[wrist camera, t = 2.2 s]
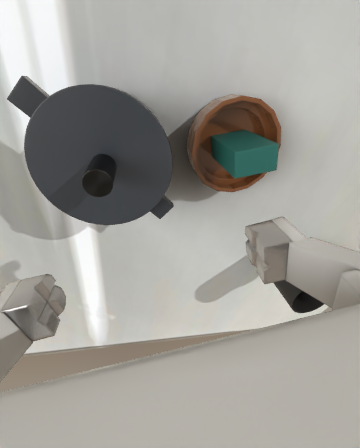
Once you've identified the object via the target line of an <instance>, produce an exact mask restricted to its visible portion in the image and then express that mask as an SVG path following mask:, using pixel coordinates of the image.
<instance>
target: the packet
mask: <svg viewBox="0 0 360 448" xmlns="http://www.w3.org/2000/svg"><path fill="white" fill-rule="evenodd" d="M278 147H279V144H278V143H276V142H273V141H271V140H268V139H266V138H264V137H261V136H259V135H257V134H254V133H252V132H250V131H247V130H245V129H243V130H238V131H233V132H228V133H223V134H217V135H212V136H211V151H212V157H213V158H214V159H215V160H216V161H217V162H218V163H219V164H220V165H221V166H222V167H223V168H224V169H225V170H226V171H227V172H228V173H229V174H230V175H231V176H233V177H234V178H235V179H236V178H241V177H245V176H250V175H255V174H260V173H265V172H270V171H274V170H276V167H277V157H278Z"/></svg>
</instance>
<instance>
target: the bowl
mask: <svg viewBox="0 0 360 448" xmlns="http://www.w3.org/2000/svg"><path fill="white" fill-rule="evenodd" d="M243 129H245V130H247V131H250V132H252V133H254V134H257V135H259V136H261V137H264V138H266V139H268V140H271V141H273V142H276V143H278V144H279V147H278V151H279V148H280V139H281V127H280V124H279V122H278V119H277V117H276V114H275V112H274V110H273V109H272V108H270V107H269V106H268V105H267V104H266V103H265V102H263V101H262V100H261V99H257V98H252V97H247V96H242V95H233V94H232V95H228V96H224V97H221V98H217V99H214V100H213V101H212V102H210V103H209V104H208V105H207V106H205V107H204V108H203V109H202V110H201V111H199V113H198V114H197V116H196V118H195V120H194V121H193V123H192V125H191V126H190V128H189V134H188V139H187V145H186V148H187V153H188V157H189V162H190V164H191V166H192V167H193V168H194V170H195V171H196V173H197V174H198V176H199V177H200V178H201V180H202V181H203V183H204V184H206V185H208V186H210V187H211V188H213V189H215V190H217V191H225V192H235V191H238V190H242V189H245V188H248V187H250V186H251V185H253V184H254V183H256V182H257V181H258V180H260V179H261V178H262V177H263V176H264V175H265V174H266V173H267V172H265V173H260V174H255V175H250V176H245V177H241V178H236V179H235V178H234V177H233V176H231V175H230V174H229V173H228V172H227V171H226V170H225V169H224V168H223V167H222V166H221V165H220V164H219V163H218V162H217V161H216V160H215V159H214V158H213V157H212V151H211V136H212V135H217V134H223V133H228V132H233V131H238V130H243Z"/></svg>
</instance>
